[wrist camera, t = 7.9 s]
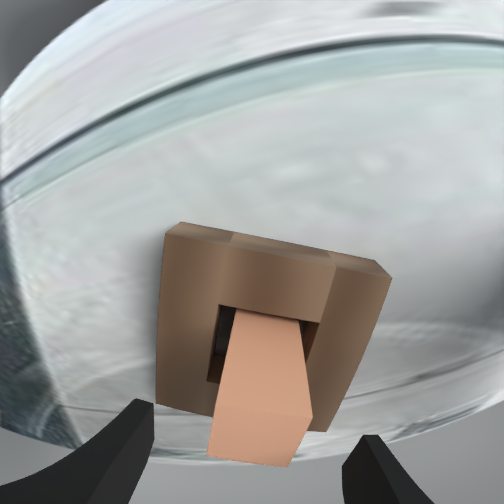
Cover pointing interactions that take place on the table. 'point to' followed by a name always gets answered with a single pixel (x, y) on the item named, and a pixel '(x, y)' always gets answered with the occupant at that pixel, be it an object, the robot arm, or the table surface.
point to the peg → (261, 392)
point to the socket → (265, 301)
